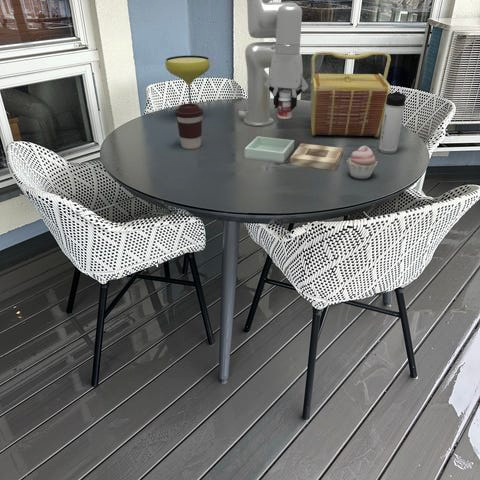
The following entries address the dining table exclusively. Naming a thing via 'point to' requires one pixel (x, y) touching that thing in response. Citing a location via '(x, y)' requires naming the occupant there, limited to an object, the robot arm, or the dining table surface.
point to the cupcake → (362, 163)
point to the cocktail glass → (188, 68)
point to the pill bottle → (284, 104)
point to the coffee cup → (189, 125)
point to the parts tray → (269, 149)
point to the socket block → (316, 156)
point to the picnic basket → (348, 100)
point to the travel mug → (392, 122)
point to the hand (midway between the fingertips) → (284, 107)
